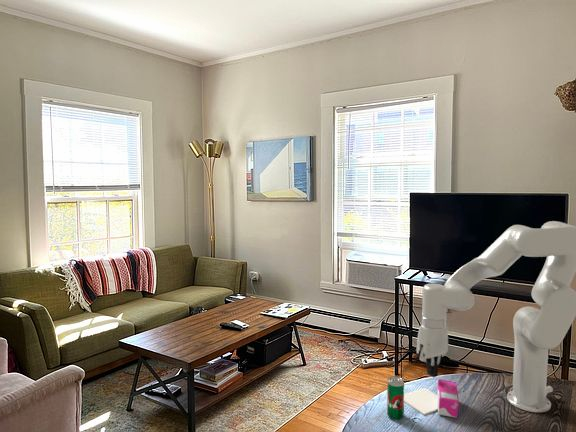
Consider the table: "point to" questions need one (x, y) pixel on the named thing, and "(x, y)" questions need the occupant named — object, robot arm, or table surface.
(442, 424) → the table surface
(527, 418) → the table surface
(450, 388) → the supplement box
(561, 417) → the table surface
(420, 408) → the mat
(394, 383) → the soda can
